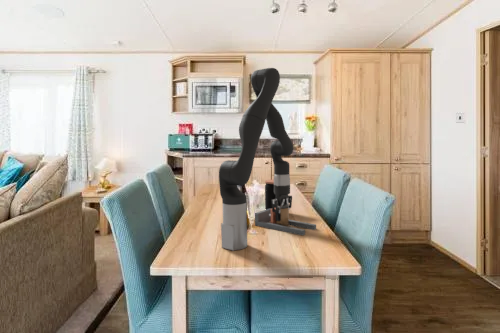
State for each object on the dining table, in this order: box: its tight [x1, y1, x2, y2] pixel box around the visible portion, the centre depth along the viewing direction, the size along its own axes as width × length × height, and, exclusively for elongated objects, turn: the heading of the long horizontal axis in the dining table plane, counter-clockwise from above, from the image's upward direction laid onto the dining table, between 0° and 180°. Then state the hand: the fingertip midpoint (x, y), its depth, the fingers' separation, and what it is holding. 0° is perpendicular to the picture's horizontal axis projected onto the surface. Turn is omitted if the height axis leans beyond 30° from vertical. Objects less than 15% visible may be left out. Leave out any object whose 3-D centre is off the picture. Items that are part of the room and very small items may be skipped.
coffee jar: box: [264, 179, 276, 210], centre depth 174 cm, size 11×11×18 cm
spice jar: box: [276, 204, 290, 227], centre depth 149 cm, size 6×6×10 cm
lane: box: [254, 208, 317, 236], centre depth 148 cm, size 26×12×6 cm, turn 50°
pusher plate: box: [269, 208, 276, 224], centre depth 152 cm, size 4×7×8 cm, turn 140°
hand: (282, 219), depth 149 cm, fingers closed on spice jar, 6 cm apart
